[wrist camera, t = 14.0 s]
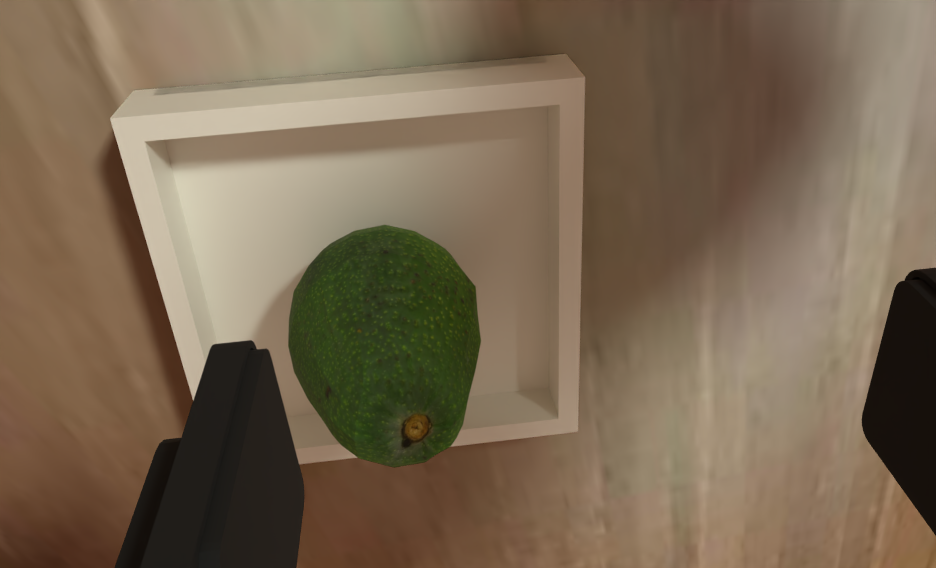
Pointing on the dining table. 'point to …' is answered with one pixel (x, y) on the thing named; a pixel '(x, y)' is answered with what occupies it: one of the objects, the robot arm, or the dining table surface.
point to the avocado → (386, 343)
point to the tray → (373, 215)
